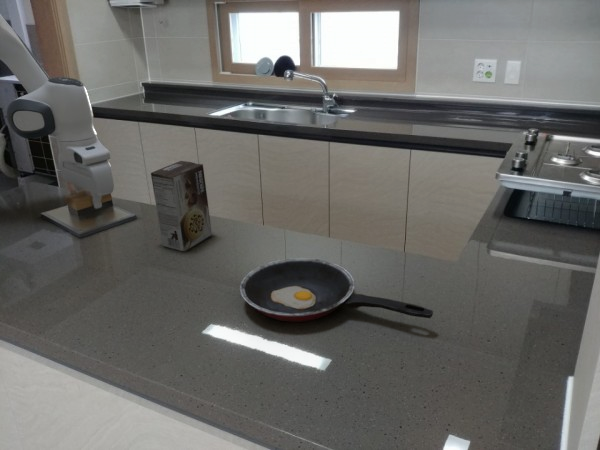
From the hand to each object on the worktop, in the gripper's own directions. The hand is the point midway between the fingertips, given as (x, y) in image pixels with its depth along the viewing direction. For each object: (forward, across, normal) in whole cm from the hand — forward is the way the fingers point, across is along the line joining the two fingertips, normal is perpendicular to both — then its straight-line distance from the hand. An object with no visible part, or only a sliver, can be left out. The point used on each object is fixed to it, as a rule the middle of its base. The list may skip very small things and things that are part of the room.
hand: (91, 204), depth 130 cm
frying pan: (+2, +74, +4) cm, 74 cm away
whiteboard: (+2, +2, -2) cm, 4 cm away
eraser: (+1, 0, 0) cm, 1 cm away
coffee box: (+2, +32, +5) cm, 33 cm away
